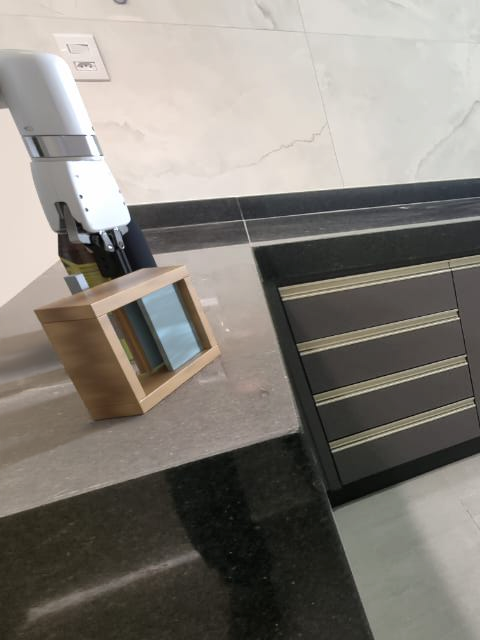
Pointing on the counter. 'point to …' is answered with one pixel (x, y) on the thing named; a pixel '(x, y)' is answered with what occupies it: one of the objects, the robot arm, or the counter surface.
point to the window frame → (107, 352)
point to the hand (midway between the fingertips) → (117, 275)
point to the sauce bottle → (79, 261)
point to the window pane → (127, 328)
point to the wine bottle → (136, 248)
